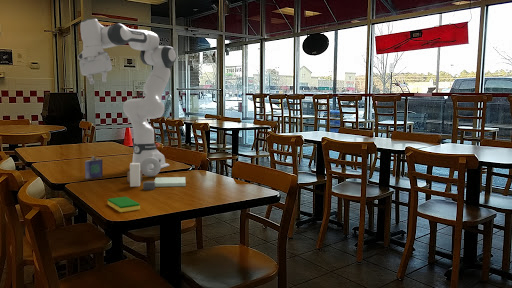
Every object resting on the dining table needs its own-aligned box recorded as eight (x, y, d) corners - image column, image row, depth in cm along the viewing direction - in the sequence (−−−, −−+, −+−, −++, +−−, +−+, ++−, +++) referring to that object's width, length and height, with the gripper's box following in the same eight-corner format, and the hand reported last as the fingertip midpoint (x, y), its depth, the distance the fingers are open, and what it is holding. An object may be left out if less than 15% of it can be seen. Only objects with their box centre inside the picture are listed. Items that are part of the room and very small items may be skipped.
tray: (155, 180, 197) (155, 177, 197) (185, 180, 199) (185, 177, 199) (153, 186, 183) (153, 183, 183) (185, 186, 186) (185, 182, 186)
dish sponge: (120, 213, 141) (120, 206, 141) (107, 205, 152) (107, 198, 152) (140, 210, 146) (140, 203, 145) (126, 202, 157) (126, 196, 156)
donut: (160, 175, 211) (159, 156, 210) (161, 176, 208) (161, 157, 207) (140, 176, 207) (139, 156, 206) (141, 177, 204) (140, 157, 203)
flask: (87, 179, 197) (86, 157, 196) (83, 179, 199) (83, 157, 198) (104, 176, 205) (103, 155, 204) (100, 176, 207) (99, 155, 206)
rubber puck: (148, 187, 182) (148, 180, 182) (157, 188, 180) (157, 181, 180) (140, 189, 178) (140, 182, 178) (149, 190, 176) (149, 183, 175)
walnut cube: (132, 180, 198) (132, 170, 197) (142, 180, 197) (142, 170, 196) (127, 182, 193) (127, 171, 192) (137, 182, 192) (136, 172, 191)
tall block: (131, 184, 187) (130, 162, 186) (140, 184, 188) (140, 162, 187) (130, 186, 183) (129, 164, 182) (139, 186, 184) (139, 164, 183)
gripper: (112, 50, 192) (117, 80, 193) (87, 57, 203) (91, 85, 205) (101, 49, 187) (105, 80, 188) (75, 56, 198) (80, 85, 200)
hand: (98, 83), depth 197 cm, fingers open, 8 cm apart
